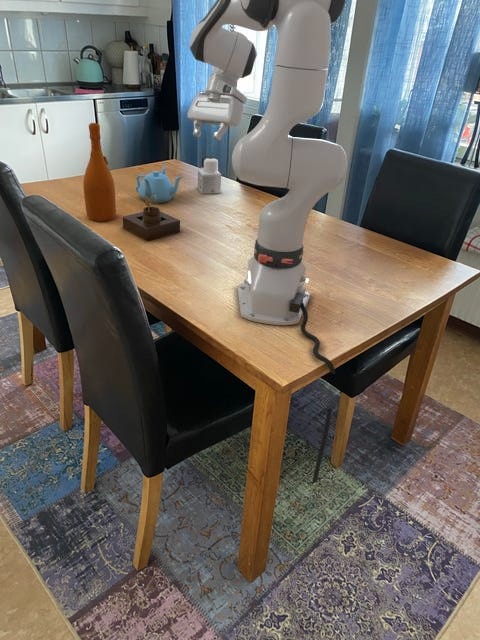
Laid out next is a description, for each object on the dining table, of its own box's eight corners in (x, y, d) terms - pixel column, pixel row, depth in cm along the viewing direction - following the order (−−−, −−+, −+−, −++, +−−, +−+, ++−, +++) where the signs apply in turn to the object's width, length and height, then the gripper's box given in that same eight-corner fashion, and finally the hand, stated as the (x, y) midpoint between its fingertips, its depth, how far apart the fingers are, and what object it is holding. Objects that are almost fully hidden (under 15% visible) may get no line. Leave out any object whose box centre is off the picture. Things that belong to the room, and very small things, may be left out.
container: (197, 187, 200) (198, 155, 193) (215, 187, 202) (217, 155, 195) (201, 193, 194) (202, 160, 187) (220, 193, 196) (222, 160, 189)
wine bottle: (119, 221, 162) (113, 126, 147) (88, 223, 159) (79, 126, 143) (114, 211, 170) (107, 120, 154) (84, 213, 167) (75, 120, 151)
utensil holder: (164, 228, 160) (163, 192, 154) (156, 234, 155) (155, 198, 149) (147, 225, 161) (146, 189, 155) (139, 231, 156) (137, 195, 150)
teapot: (131, 194, 187) (130, 167, 182) (167, 190, 194) (167, 164, 188) (145, 206, 177) (144, 178, 171) (183, 202, 183) (183, 175, 178)
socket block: (180, 232, 159) (180, 220, 156) (147, 241, 150) (147, 229, 148) (155, 220, 166) (155, 208, 164) (123, 228, 158) (122, 216, 156)
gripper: (190, 86, 149) (177, 130, 151) (238, 87, 136) (222, 136, 138) (205, 95, 154) (191, 138, 156) (251, 98, 141) (236, 145, 143)
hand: (206, 137), depth 147 cm, fingers open, 8 cm apart
